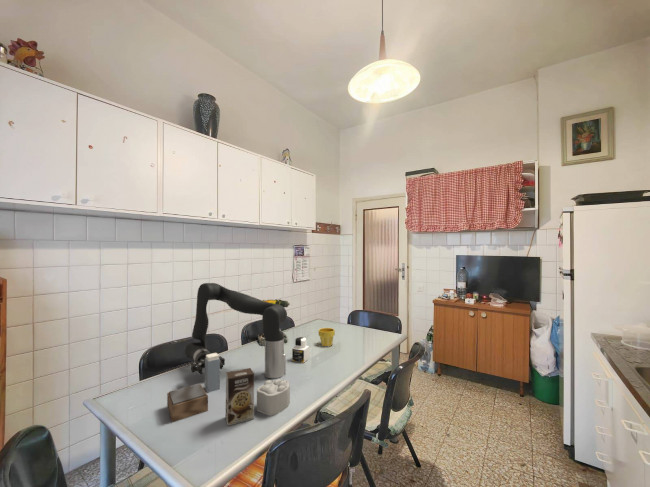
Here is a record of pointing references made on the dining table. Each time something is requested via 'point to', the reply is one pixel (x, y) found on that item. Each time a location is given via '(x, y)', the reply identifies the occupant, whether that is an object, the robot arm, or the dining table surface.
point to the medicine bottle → (300, 350)
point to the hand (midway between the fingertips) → (211, 369)
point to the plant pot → (326, 336)
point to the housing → (212, 372)
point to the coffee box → (239, 396)
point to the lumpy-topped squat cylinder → (273, 397)
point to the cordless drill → (260, 336)
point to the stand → (187, 402)
